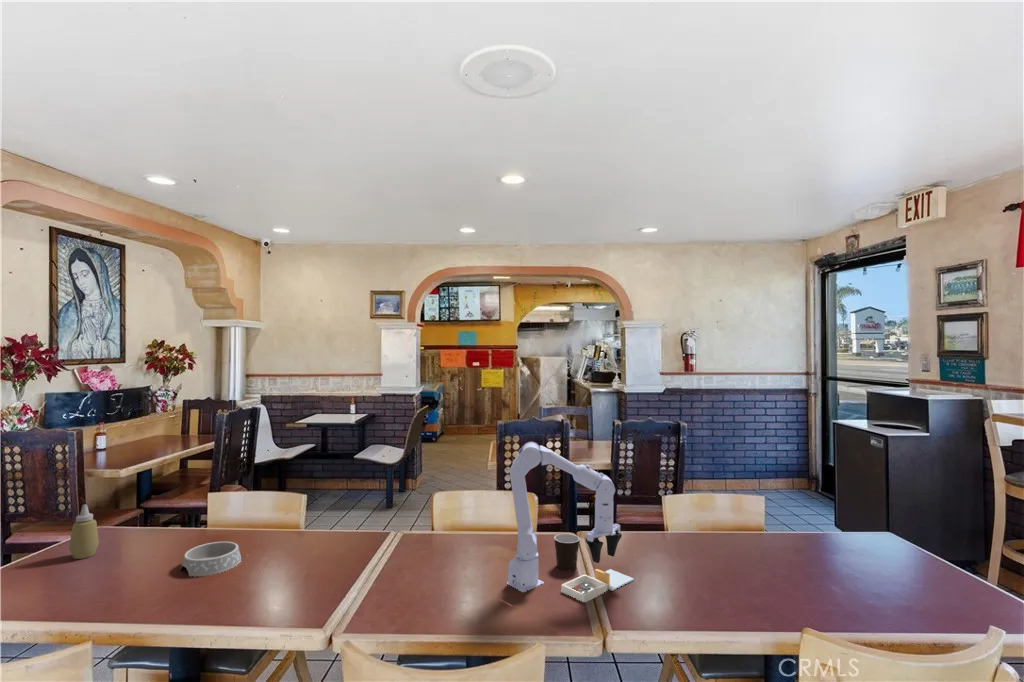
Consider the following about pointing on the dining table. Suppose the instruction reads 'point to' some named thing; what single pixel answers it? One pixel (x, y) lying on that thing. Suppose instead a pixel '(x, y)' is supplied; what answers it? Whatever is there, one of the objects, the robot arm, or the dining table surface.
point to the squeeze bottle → (84, 535)
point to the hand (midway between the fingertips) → (603, 558)
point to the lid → (612, 578)
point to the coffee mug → (566, 551)
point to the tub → (591, 593)
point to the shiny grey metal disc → (583, 591)
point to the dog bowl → (211, 558)
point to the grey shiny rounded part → (586, 585)
